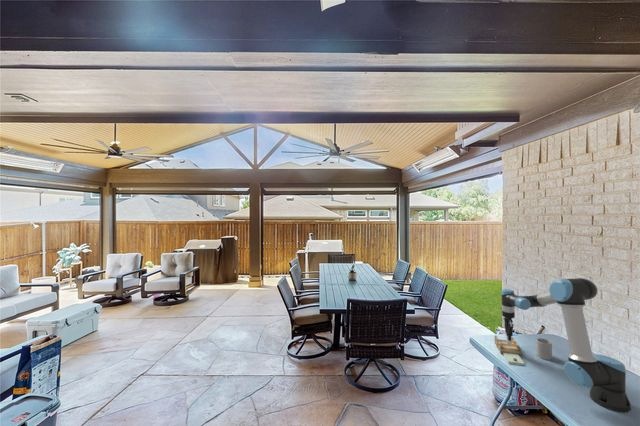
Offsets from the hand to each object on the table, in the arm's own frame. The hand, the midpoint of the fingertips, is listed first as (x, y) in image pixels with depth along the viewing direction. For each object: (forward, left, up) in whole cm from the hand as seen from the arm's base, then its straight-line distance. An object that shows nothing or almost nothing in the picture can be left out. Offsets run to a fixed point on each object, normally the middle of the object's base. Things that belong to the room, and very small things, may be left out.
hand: (509, 344), depth 198 cm
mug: (+2, -21, -6) cm, 22 cm away
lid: (-10, 0, -7) cm, 12 cm away
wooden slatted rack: (+4, 0, -6) cm, 8 cm away
